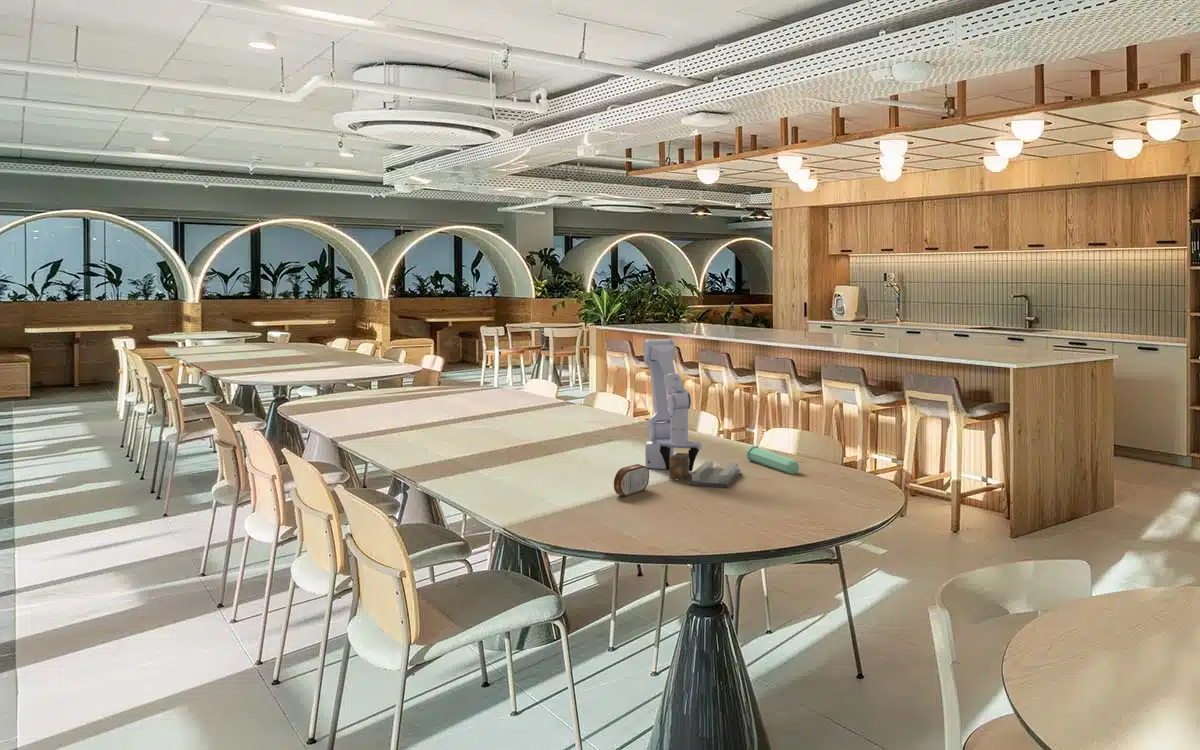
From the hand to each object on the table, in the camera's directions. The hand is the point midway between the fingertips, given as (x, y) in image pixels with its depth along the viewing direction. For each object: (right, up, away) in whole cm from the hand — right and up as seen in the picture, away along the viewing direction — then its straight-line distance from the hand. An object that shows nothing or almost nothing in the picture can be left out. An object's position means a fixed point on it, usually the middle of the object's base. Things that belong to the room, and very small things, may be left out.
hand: (679, 469), depth 292 cm
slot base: (+11, -3, -4) cm, 12 cm away
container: (+33, -1, +13) cm, 36 cm away
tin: (-16, -5, -21) cm, 27 cm away
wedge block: (0, -2, 0) cm, 2 cm away
